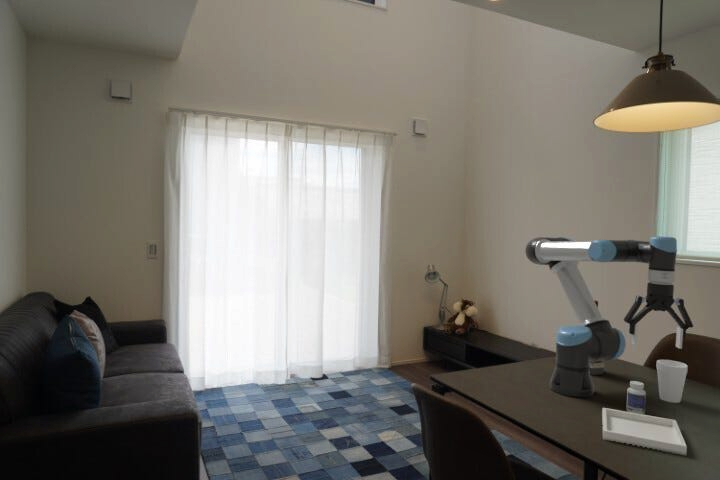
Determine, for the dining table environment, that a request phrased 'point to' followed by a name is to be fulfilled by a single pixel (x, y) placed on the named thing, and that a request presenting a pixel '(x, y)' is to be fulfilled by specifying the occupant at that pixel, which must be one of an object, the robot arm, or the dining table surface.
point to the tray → (643, 431)
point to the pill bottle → (636, 398)
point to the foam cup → (671, 379)
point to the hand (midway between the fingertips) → (656, 345)
